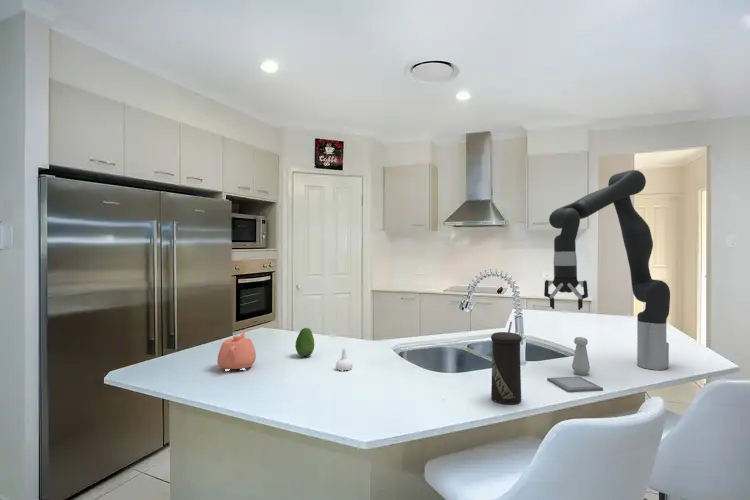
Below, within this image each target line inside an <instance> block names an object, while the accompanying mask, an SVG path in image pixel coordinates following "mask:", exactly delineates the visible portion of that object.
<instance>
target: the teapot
mask: <svg viewBox="0 0 750 500" xmlns="http://www.w3.org/2000/svg"><path fill="white" fill-rule="evenodd" d="M245 334H246V332H245V331H243V332H241V333H240V335H234V336H232V338H228V339H225V340H224V341H223V342H222V343H221V346H220V348H219V351H218V354H217V360H216V361H217V366H218V367H219V368H220V369H223V370H225V369H231V370H240V369H242V368H246V369H247V368H248V369H249V368H251V367H252V366H253V365H254V363H255V361H256V358H257V356H256V355H257V354H256V348H255V346H254V343H253V341H252V339H251V338H246V335H245Z"/></svg>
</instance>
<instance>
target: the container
mask: <svg viewBox="0 0 750 500" xmlns="http://www.w3.org/2000/svg"><path fill="white" fill-rule="evenodd" d="M490 339H491V341H492V349H491V352H492V353H491V354H492V355H491V393H490V394H491V397H490V398H491V400H492V401H494V402H496V403H499V404H502V405H503V404H504V405H518V404H520V403H521V402H522V376H521V375H522V374H521V372H522V371H521V369H522V368H521V341H523V337H522V336H521V335H520V334H518V333H515V332H509V331H506V332H505V331H499V332H494V333H493V334H491V335H490Z"/></svg>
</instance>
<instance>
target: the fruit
mask: <svg viewBox="0 0 750 500" xmlns="http://www.w3.org/2000/svg"><path fill="white" fill-rule="evenodd" d="M294 347H295V350H296V352H297V354H298V355H299V356H300V357H301V356H308V357H310V356H312V353H313V352H314V349H315V339H314V335H313V332H312V330H311V329H310V328H309V327H304V328H302V329H300V332H299V333H298V335H297V337H296V340H295V346H294ZM309 355H310V356H309Z"/></svg>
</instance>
